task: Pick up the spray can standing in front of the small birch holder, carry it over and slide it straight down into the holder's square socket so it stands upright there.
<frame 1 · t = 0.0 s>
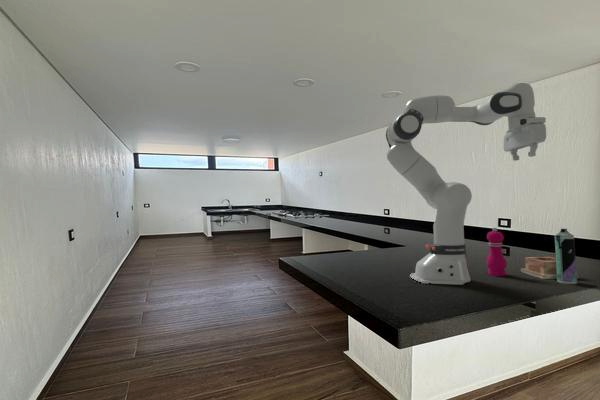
hand: (523, 158, 118), 48 cm above the table, tool pointing down, fingers open, 8 cm apart
can holder: (548, 274, 121), on the table
spray can: (567, 282, 109), on the table
pepper mill: (497, 275, 124), on the table
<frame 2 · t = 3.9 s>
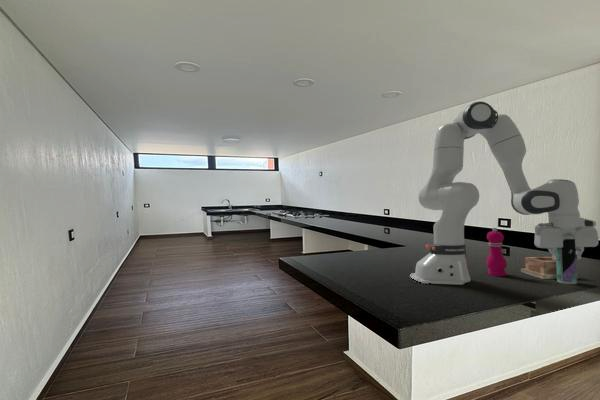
hand: (566, 259, 109), 8 cm above the table, tool pointing down, fingers open, 6 cm apart
spray can: (567, 282, 109), on the table, touching arm, gripper
everything else where it was.
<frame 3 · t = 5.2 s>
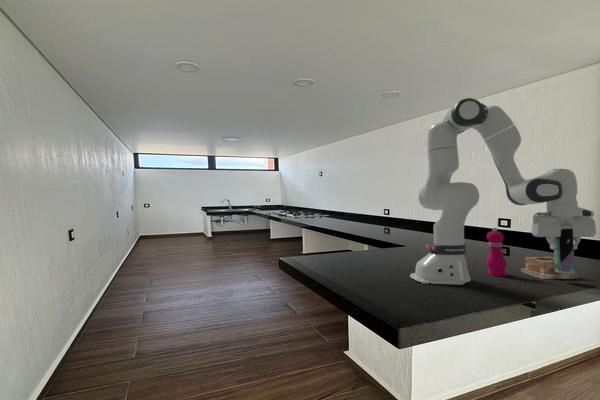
hand: (563, 249, 110), 12 cm above the table, tool pointing down, fingers closed on spray can, 5 cm apart
spray can: (564, 272, 109), point 4 cm above the table, touching arm, gripper
everything else where it was.
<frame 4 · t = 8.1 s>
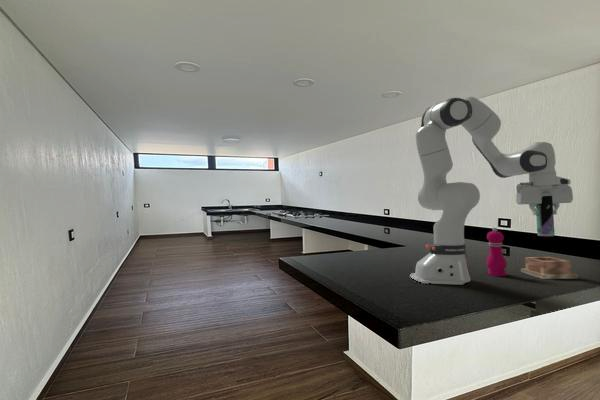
hand: (544, 214, 122), 25 cm above the table, tool pointing down, fingers closed on spray can, 5 cm apart
spray can: (545, 235, 122), point 16 cm above the table, touching gripper
everything else where it was.
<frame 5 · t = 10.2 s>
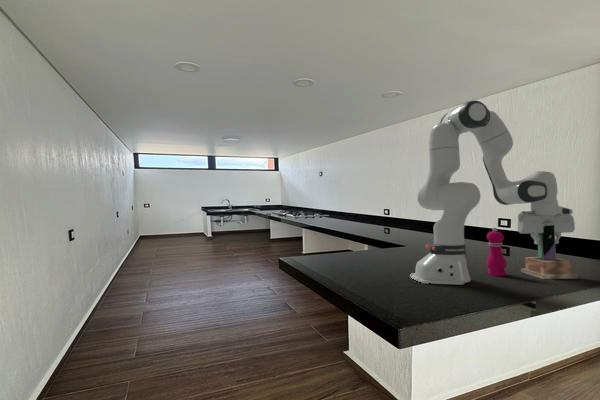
hand: (546, 243, 121), 13 cm above the table, tool pointing down, fingers closed on spray can, 5 cm apart
spray can: (547, 265, 121), point 4 cm above the table, touching gripper
everything else where it was.
when the fingers open (11 cm above the table, at t = 11.4 s): spray can stays where it is, resting on can holder.
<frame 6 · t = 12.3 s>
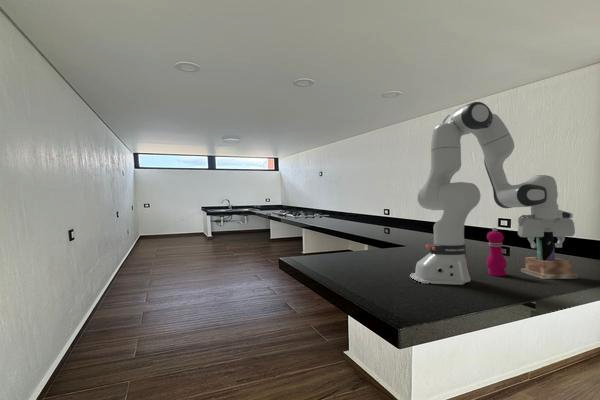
hand: (546, 247, 121), 11 cm above the table, tool pointing down, fingers open, 8 cm apart
spray can: (546, 271, 121), point 1 cm above the table, touching can holder
everything else where it was.
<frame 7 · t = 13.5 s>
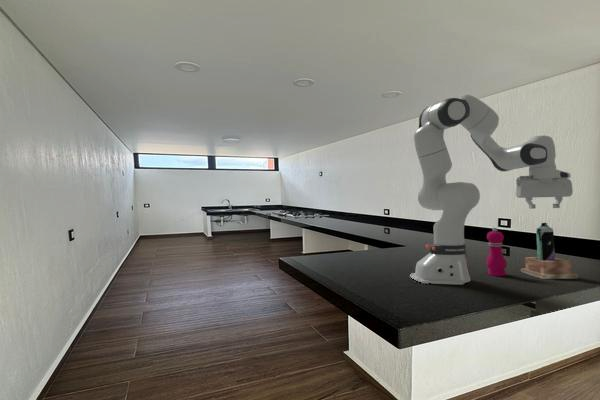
hand: (544, 208, 122), 28 cm above the table, tool pointing down, fingers open, 8 cm apart
nothing on the table moved.
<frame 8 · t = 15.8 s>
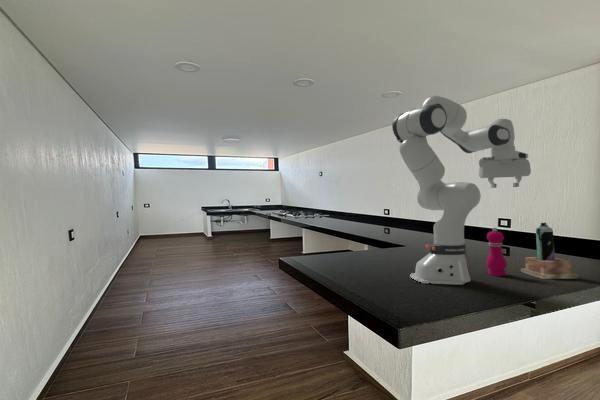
hand: (505, 187, 130), 37 cm above the table, tool pointing down, fingers open, 8 cm apart
nothing on the table moved.
at the end: spray can 0.3 cm off-centre on the can holder, point 1.3 cm above the can holder's base; spray can tilted 0°; the gripper is holding nothing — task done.
